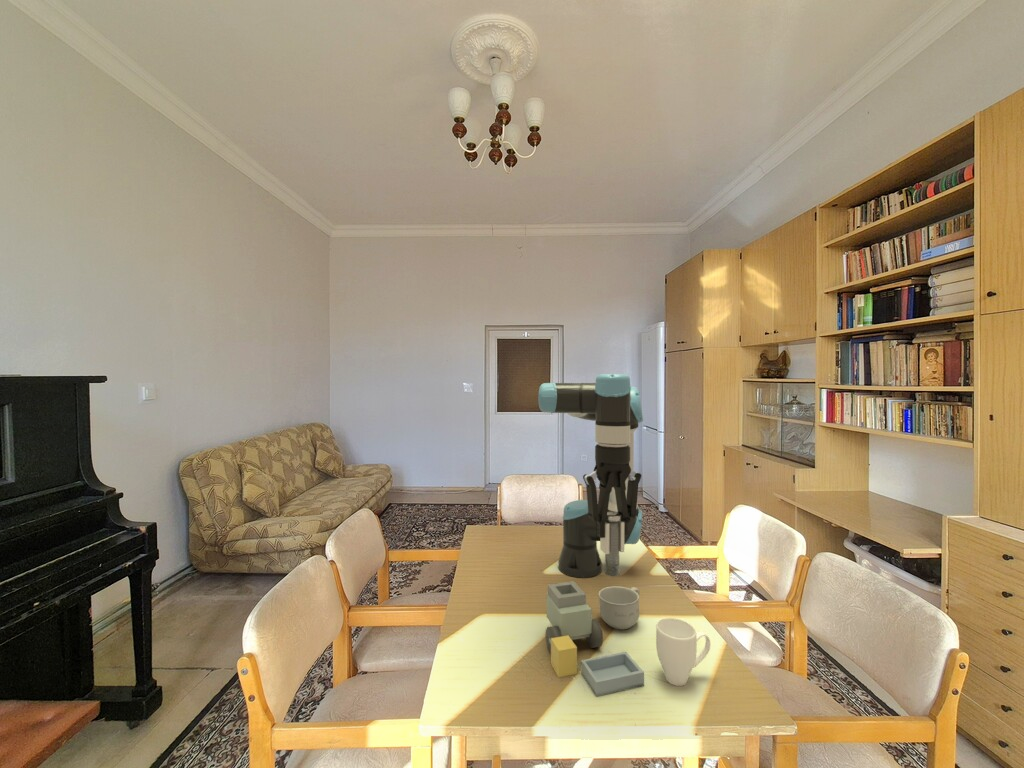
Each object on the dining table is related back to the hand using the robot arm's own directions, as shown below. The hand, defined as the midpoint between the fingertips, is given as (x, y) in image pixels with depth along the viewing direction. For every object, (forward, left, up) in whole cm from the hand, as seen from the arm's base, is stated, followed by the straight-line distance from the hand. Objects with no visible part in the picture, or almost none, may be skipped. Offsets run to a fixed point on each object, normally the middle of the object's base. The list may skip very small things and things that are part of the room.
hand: (612, 550), depth 95 cm
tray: (0, 0, -29) cm, 29 cm away
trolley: (+3, -16, -29) cm, 33 cm away
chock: (+9, -7, -29) cm, 31 cm away
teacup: (-15, -20, -29) cm, 38 cm away
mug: (-16, +4, -29) cm, 33 cm away
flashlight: (0, 0, -5) cm, 5 cm away
